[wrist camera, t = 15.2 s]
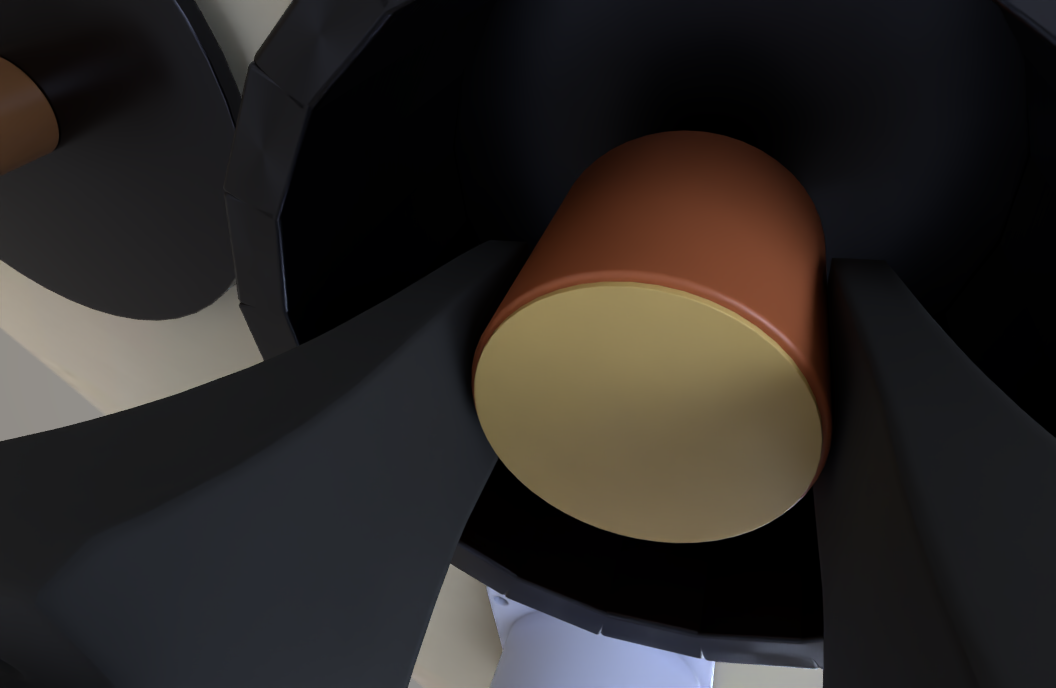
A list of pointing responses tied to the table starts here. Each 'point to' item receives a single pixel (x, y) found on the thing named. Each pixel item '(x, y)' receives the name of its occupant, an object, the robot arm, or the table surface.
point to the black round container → (605, 123)
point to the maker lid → (116, 153)
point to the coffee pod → (667, 345)
